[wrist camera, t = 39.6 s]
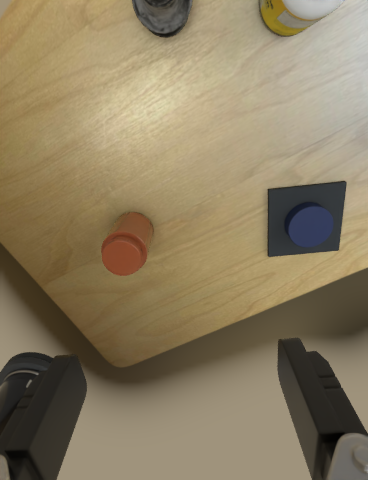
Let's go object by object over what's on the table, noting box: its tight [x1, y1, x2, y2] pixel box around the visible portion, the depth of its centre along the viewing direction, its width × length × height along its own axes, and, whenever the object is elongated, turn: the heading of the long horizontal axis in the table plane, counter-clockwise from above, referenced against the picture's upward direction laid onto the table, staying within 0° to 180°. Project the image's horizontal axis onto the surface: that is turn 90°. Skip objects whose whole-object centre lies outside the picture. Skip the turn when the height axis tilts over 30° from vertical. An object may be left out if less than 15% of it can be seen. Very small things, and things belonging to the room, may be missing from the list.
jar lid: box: [284, 202, 333, 247], centre depth 40 cm, size 6×6×2 cm
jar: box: [101, 212, 153, 276], centre depth 38 cm, size 6×6×9 cm
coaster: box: [268, 181, 346, 257], centre depth 41 cm, size 10×10×1 cm
